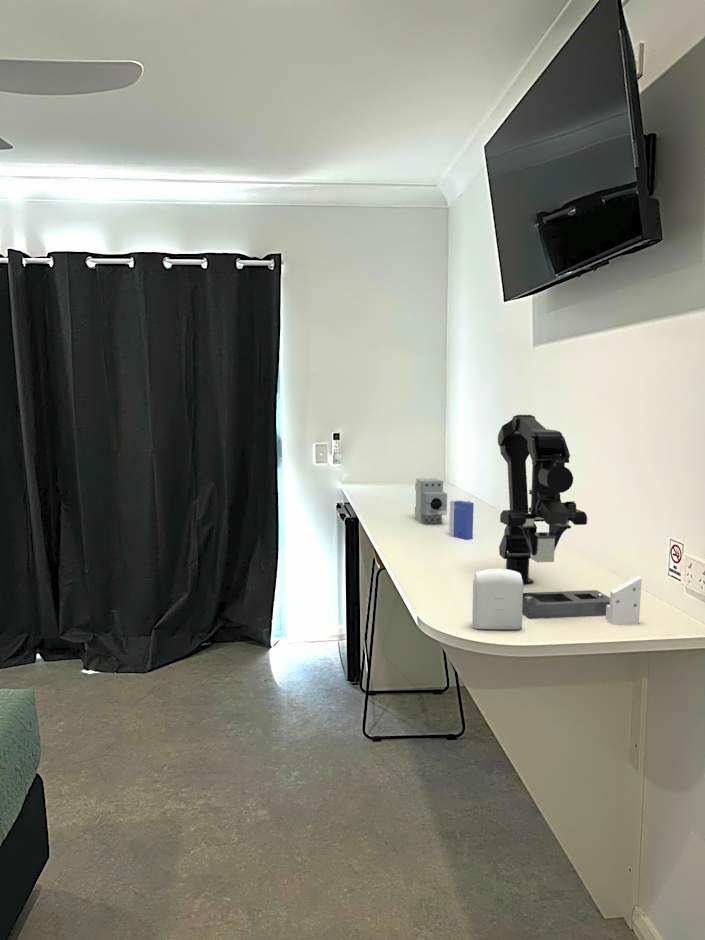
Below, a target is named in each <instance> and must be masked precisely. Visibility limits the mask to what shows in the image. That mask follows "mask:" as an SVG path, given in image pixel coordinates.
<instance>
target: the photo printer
mask: <svg viewBox="0 0 705 940" xmlns="http://www.w3.org/2000/svg"><path fill="white" fill-rule="evenodd" d="M523 593H524V583H523V580H522V576H521V574H520V573H519V572H516V571H513V570H508V569H506V568H488V569H483V570H479V571H477V572H475V573H474V578H473V581H472V612H471V614H472V616H471V617H472V618H471V619H472V622H471V623H472V624H471V627H472V628H473V629H476V630H521V629H522V628H523V613H522V607H523Z"/></svg>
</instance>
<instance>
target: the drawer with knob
mask: <svg viewBox="0 0 705 940" xmlns="http://www.w3.org/2000/svg"><path fill="white" fill-rule="evenodd" d="M555 539H556V536H555V535H553V534H551V533H549V531H548V532H547V531H545V532H543V531H539V532H535V555H532V554H531V552H530V559H531V560H532V561H534V562H535V563H555V551H554V548H555ZM530 559H529V560H530Z"/></svg>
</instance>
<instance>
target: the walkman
mask: <svg viewBox="0 0 705 940" xmlns="http://www.w3.org/2000/svg"><path fill="white" fill-rule="evenodd" d="M448 523H449V525H448V527H449V529H448V530H449V531H448V536H449V537H454V538H457V539H462V540H465V541H466V540H473V539H474V538H473V536H474V535H473V534H474V502H471V501H469V500H467V501H464V500H458V499H451V500H449V521H448Z"/></svg>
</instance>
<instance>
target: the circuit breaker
mask: <svg viewBox="0 0 705 940" xmlns="http://www.w3.org/2000/svg"><path fill="white" fill-rule="evenodd" d="M415 480H416V482H414V483H415V486H414V487H415V489H414V490H415V506H414V516H415V518H414V520H415V521H416V522H418V523H420V524H421V525H422V524H423V525H425V524H443V517H442V516H446V515H447V513H448V512H447V511H448V508H447V507H448V493H447V492H446V491H445V492H444V480H441V479H438V478H435V477H433V478H432V477H431V478H428V477H427V478H415Z"/></svg>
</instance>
